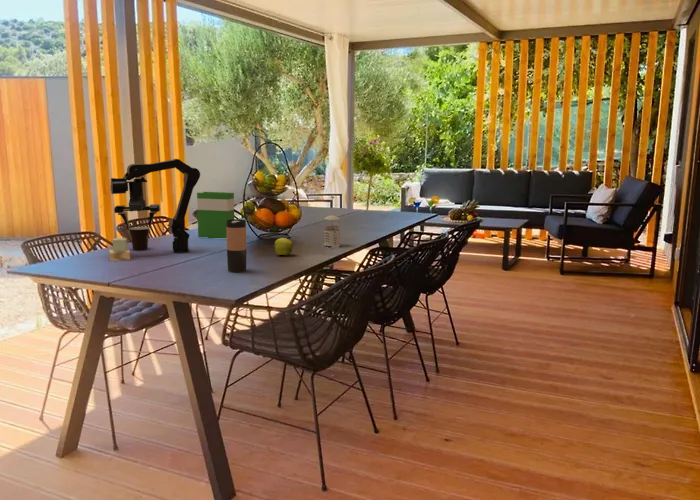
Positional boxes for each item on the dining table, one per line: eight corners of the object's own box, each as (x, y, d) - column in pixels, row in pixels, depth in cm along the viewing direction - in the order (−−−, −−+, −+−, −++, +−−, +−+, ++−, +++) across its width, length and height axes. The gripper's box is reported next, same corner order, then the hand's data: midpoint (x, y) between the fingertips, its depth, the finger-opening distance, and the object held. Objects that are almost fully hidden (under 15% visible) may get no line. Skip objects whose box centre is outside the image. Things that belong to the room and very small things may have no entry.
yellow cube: (127, 249, 259) (126, 238, 258) (125, 251, 254) (125, 239, 253) (115, 249, 258) (114, 238, 257) (113, 251, 253) (112, 240, 252)
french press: (336, 243, 303) (337, 194, 299) (346, 247, 293) (347, 196, 289) (319, 245, 299) (319, 195, 295) (328, 248, 289) (328, 197, 285)
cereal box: (198, 237, 318) (196, 192, 314) (205, 235, 325) (203, 191, 321) (228, 239, 314) (227, 193, 309) (234, 237, 321) (233, 192, 316)
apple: (273, 253, 273) (273, 236, 272) (293, 254, 273) (293, 237, 272) (271, 257, 266) (271, 239, 264) (292, 257, 266) (292, 239, 264)
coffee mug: (143, 251, 275) (142, 229, 273) (126, 250, 277) (125, 229, 275) (156, 247, 286) (155, 226, 285) (140, 246, 288) (139, 226, 286)
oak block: (129, 257, 262) (129, 248, 261) (130, 260, 254) (129, 251, 254) (109, 258, 259) (109, 249, 258) (110, 262, 251) (109, 252, 251)
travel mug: (241, 267, 241) (240, 218, 238) (250, 271, 235) (249, 220, 232) (223, 270, 237) (222, 220, 233) (232, 273, 231) (231, 222, 227)
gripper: (110, 195, 253) (113, 231, 255) (156, 193, 256) (158, 229, 259) (115, 192, 263) (118, 227, 266) (159, 191, 267) (161, 226, 270)
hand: (139, 227), depth 265 cm, fingers open, 9 cm apart
